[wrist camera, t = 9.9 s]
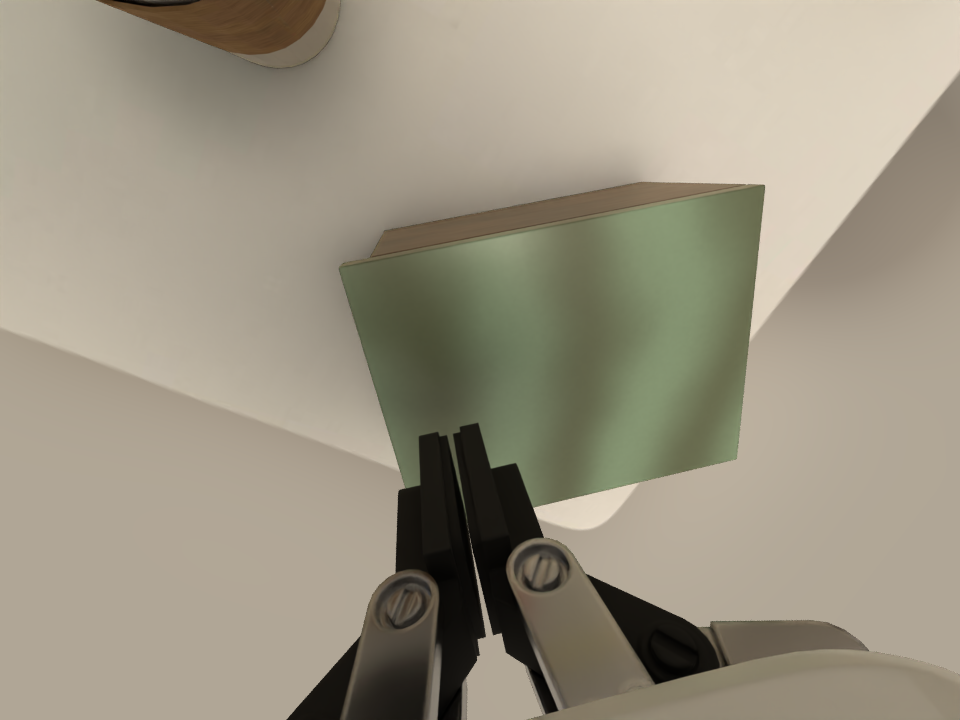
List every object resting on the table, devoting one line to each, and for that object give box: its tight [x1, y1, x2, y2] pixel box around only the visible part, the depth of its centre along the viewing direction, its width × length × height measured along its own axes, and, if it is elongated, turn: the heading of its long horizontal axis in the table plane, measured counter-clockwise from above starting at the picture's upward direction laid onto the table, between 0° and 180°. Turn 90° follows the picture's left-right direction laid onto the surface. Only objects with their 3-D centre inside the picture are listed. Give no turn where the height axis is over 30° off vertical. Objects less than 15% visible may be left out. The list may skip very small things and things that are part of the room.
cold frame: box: [370, 182, 745, 258], centre depth 21 cm, size 14×12×8 cm
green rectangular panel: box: [339, 184, 765, 523], centre depth 17 cm, size 14×12×1 cm
